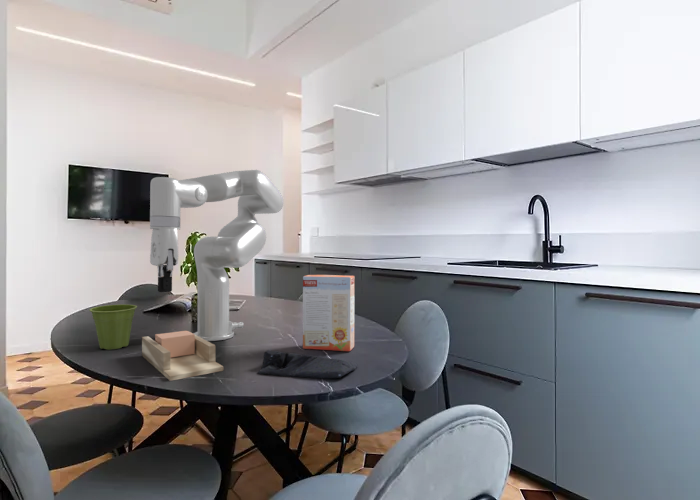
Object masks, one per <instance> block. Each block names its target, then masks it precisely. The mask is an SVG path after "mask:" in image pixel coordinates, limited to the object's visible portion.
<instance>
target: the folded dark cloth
mask: <svg viewBox="0 0 700 500" xmlns="http://www.w3.org/2000/svg"><path fill="white" fill-rule="evenodd" d="M261 365H262V366H261V369H260V370H258V371H257V374H259V375H271V376H280V377H291V378H293V377H294V378H295V377H298V378H299V377H301V378H310V379H312V378H313V379H314V378H315V379H329V380H330V379H340V378H342V377H343V376H345V375H347V374H349V373H350V372H354V370H356V369H358V364H357V363H356V362H353V361H351V360H345V359H339V358H338V359H337V358H331V357H330V358H329V357H325V356H323V357H322V356H314V355H310V354H309V355H307V354H302V353H300V354H299V353H294V352H293V353H291V352H285V351H283V352H282V351H276V350H269V349H268V350H266V351H264V353H263V360H262V364H261Z"/></svg>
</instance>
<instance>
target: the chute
mask: <svg viewBox="0 0 700 500" xmlns="http://www.w3.org/2000/svg"><path fill="white" fill-rule="evenodd" d="M141 357H143V358H144V359H145V360H146V361H147V362H148V363H150V364H151V365H152V366H153V367H154V368H155V369H156V370H157V371H158V372H159V373H161V374H162V375H163V376H164V377H165V378H166V379H168V381H170V382H172V381H177V380H182V379H187V378H192V377H193V378H194V377H198V376H202V375H207V374H212V373H213V374H214V373H219V372H223V371H224V366H223V365H222V364H220V363H219V362H216V344H214V343H212V342H211V341H206V340H204V339H202V338H201V337H199V336H197V335H195V354H190V355H184V356H178V357H171V358H170V351H168V350H167V349H165V348H164V347H163V346H161V345H160V344H158V343H157V342H156V341H155V339H152V338H151V337H150V336H141Z"/></svg>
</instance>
